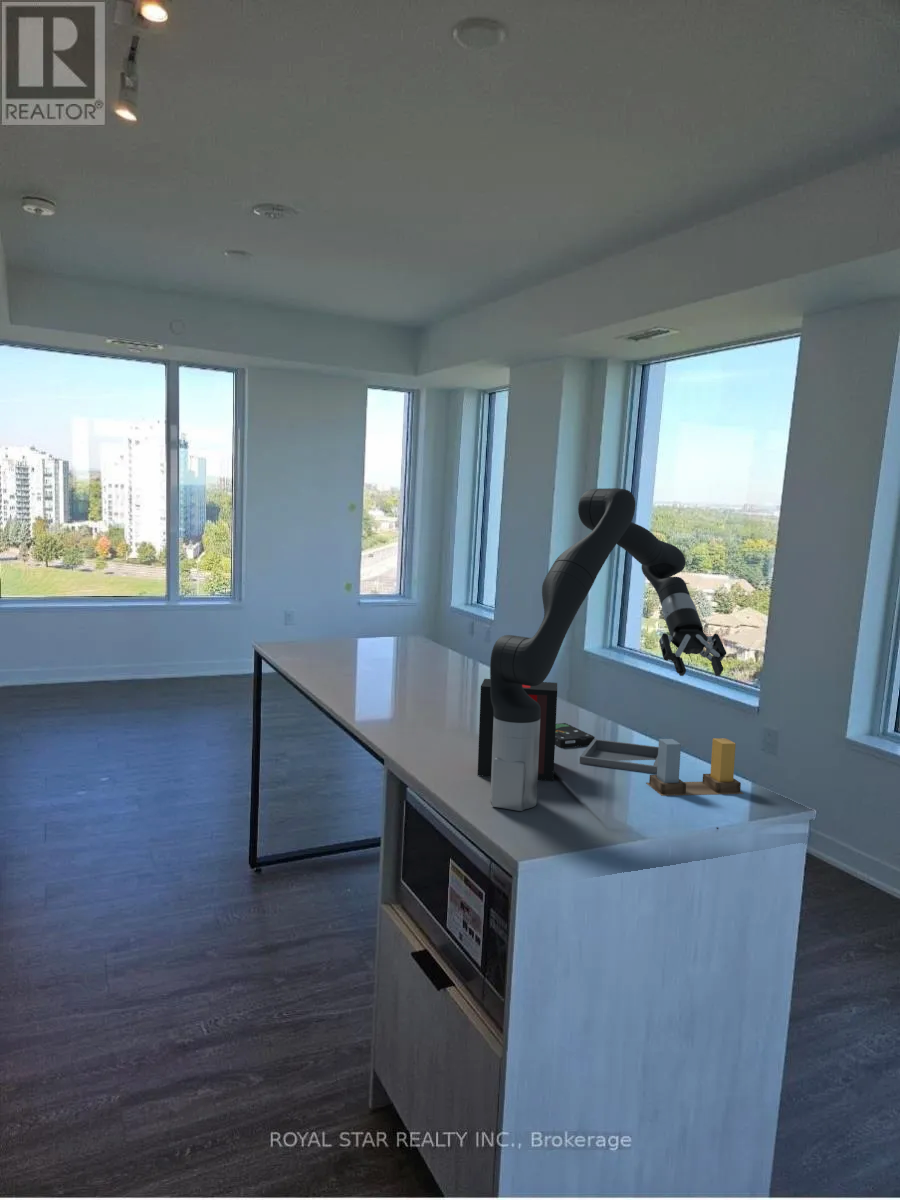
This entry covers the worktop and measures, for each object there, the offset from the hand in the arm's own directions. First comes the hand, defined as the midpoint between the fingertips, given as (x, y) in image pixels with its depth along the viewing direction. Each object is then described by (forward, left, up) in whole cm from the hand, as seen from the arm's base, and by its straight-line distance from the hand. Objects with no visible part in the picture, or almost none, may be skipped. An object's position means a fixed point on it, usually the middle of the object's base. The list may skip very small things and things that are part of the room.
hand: (701, 674), depth 173 cm
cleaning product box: (-15, +37, -24) cm, 47 cm away
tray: (+2, +16, -23) cm, 29 cm away
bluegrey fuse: (-16, +5, -22) cm, 28 cm away
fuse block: (-13, -1, -23) cm, 27 cm away
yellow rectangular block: (-10, -6, -22) cm, 25 cm away
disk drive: (+18, +34, -24) cm, 46 cm away
